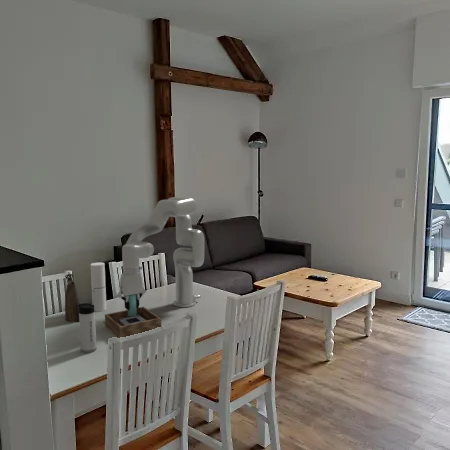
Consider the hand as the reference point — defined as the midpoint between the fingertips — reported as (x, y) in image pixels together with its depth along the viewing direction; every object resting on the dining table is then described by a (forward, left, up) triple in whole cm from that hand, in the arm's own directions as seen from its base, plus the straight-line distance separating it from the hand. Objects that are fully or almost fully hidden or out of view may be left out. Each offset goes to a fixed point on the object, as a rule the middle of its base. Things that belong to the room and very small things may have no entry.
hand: (132, 308), depth 207 cm
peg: (0, 0, -3) cm, 3 cm away
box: (0, 0, -10) cm, 10 cm away
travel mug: (+25, +12, -10) cm, 29 cm away
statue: (+20, -28, -10) cm, 36 cm away
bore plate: (0, 0, -10) cm, 10 cm away
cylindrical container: (+4, -36, -10) cm, 38 cm away
